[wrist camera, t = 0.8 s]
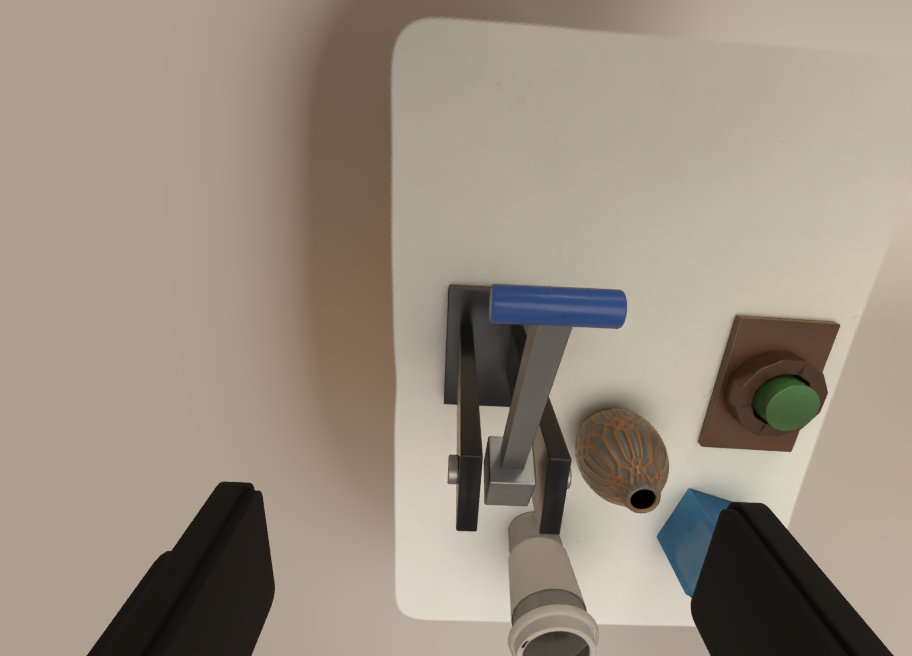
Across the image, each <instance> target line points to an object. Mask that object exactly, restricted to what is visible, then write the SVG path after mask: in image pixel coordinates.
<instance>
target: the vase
mask: <svg viewBox="0 0 912 656" xmlns="http://www.w3.org/2000/svg"><path fill="white" fill-rule="evenodd" d="M575 455H576V460H577V464H578V467H579V470H580V472H581V474H582V476H583V478H584V480H585V481H586V483H587V484H588V485H589V486H590V488H591V489H592V490H593V491H594V492H595V493H597V494H598V495H599V496H600V497H602V498H603V499H605V500H606V501H608V502H611V503H613V504H616V505H620V506H624V507H627V508H628V509H630V510H631V511H633V512H636V513H647V512H650V511H652V510H653V509H655V508H656V507H657V506H658V504H659V502H660V498H661V491H662V490H663V488H664V486H665V484H666V481H667V478H668V474H669V460H668V454H667V450H666V447H665V445H664V442H663V440H662V439H661V437H660V435H659V434H658V433H657V431H656V430H655V429H654V428H653V426H652V425H651V424H650V423H649V422H648V421H646V420H645V419H644V418H642V417H641V416H639V415H637V414H635V413H633V412H631V411H628V410H624V409H617V408H613V409H606V410H602V411H599V412H597V413H595V414H593V415H592V416H590V417H589V418H588V419H587V420H586V421H585V422H584V423H583V424H582V426H581V427H580V429H579V431H578V434H577V437H576V443H575Z"/></svg>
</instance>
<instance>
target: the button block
mask: <svg viewBox="0 0 912 656" xmlns="http://www.w3.org/2000/svg"><path fill="white" fill-rule="evenodd" d="M839 328H840V324H838V323H836V322H828V321H813V320H798V319H783V318H767V317H752V316H736V318H735V321H734V324H733V328H732V331H731V334H730V338H729V341H728V344H727V348H726V351H725V354H724V358H723V361H722V364H721V368H720V371H719V374H718V378H717V381H716V384H715V388H714V391H713V395H712V398H711V401H710V405H709V408H708V411H707V415H706V418H705V421H704V425H703V428H702V431H701V435H700V438H699V441H698V442H699V444H700V445H701V446H702V447H717V448H734V449H750V450H767V451H783V452H791V451H792V449H793V446H794V444H795V441H796V439H797V436H798V433H799V431H800V429H802V428H803V427H804V426H803V427H801V428H799V429H796V430H791V431H782V430H778V429H775V428H773V427H772V426H771V425H770V424H768V423H767V422H766V421H765V420H764V419H763V418H762V417H761V416H759V415H758V414H757V412H756V411H755V409H754V406H753V399H754V395H755V393H756V391H757V390H758V388H759V387H760V386H761V385H762V384H764V383H765V382H766V381H768V380H769V379H771V378H774V377H777V376H792V377H795V378H797V379H798V380H800V381H801V382H803V383H804V384H806V385H807V386H809V387H810V388H812V389H813V390H814V391H815V392H816V393H817V395H818V397H819V401H820V405H819V409H818V412H817V414H816V415H818V414H819V412H820V411H821V409H822V406H823V404H824V401H825V399H826V396H827V394H828V391H827V387H826V383H825V378H824V374H823V373H822V371H823V369H824V366H825V364H826V361H827V359H828V356H829V353H830V351H831V348H832V346H833V343H834V340H835V338H836V335H837V333H838V330H839ZM816 415H815V416H816ZM806 425H807V424H806Z"/></svg>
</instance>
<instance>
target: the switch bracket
mask: <svg viewBox="0 0 912 656" xmlns="http://www.w3.org/2000/svg"><path fill="white" fill-rule="evenodd" d="M490 290H491V287H485V286H463V285H449V290H448V314H447V338H446V363H445V387H444V404H456V405H457V455H449V463H448V484H457V486H456V530H457V531H477V522H478V510H479V497H480V485H481V472H482V459H483V453H482V440H481V427H480V414H479V406H502V407H510V406H511V402H512V398H513V394H514V389H515V385H516V381H517V377H518V372H519V368H520V364H521V360H522V356H523V351H524V347H525V343H526V339H527V335H528V330H529V326H530V325H523V324H500V323H491V322H490V319H489V301H490ZM533 450H534V461H535V472H536V486H535V489H534V491H533V494H532V501H533V506H534V511H535V515H536V520H537V525H538V530H539V533H540V534H552V535H559V534H560V528H561V522H562V516H563V509H564V503H565V497H566V491H567V489H568V488H569V487H570V484H571V467H570V466H571V457H570V454H569V452H568V449H567V446H566V443H565V440H564V438H563V435H562V432H561V429H560V427H559V424H558V421H557V418H556V415H555V413H554V410H553V407H552V404H551V401H550V399H549V397H548V400H547V403H546V405H545V408H544V411H543V414H542V417H541V420H540V423H539V426H538V429H537V432H536V435H535V437H534V440H533Z"/></svg>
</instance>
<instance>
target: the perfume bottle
mask: <svg viewBox="0 0 912 656" xmlns="http://www.w3.org/2000/svg"><path fill="white" fill-rule="evenodd" d="M730 503H732V502H730V501H727V500H724V499H721V498H718V497H715V496H711V495H708V494H705V493H702V492H699V491H696V490H692V489H688V491H687V492H686V494H685V495H684V497H683V498H682V500H681V501H680V503H679V504H678V506H677V507H676V509H675V510H674V512H673V513H672V515H671V516H670V518H669V519H668V521H667V522H666V524H665V525H664V527H663V528H662V530H661V531H660V533H659V534H658V536H657V538H658V540H659V542H660V544H661V546H662V548H663V550H664V552H665V554H666V556H667V558H668V560H669V562H670V564H671V566H672V568H673V570H674V572H675V574H676V576H677V578H678V580H679V582H680V584H681V586H682V588H683V590H684V592H685V594H687V595H688V596H690V597H691V598H692V596H693V593H694V590H695V587H696V584H697V581H698V578H699V575H700V572H701V569H702V566H703V563H704V560H705V557H706V554H707V550H708V547H709V544H710V541H711V538H712V535H713V532H714V529H715V526H716V523H717V520H718V517H719V514H720V512H721V511H722V510H723V509H727V507H728V505H729V504H730Z"/></svg>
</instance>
